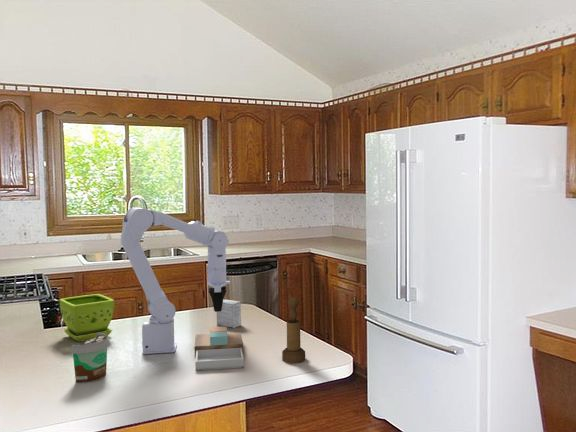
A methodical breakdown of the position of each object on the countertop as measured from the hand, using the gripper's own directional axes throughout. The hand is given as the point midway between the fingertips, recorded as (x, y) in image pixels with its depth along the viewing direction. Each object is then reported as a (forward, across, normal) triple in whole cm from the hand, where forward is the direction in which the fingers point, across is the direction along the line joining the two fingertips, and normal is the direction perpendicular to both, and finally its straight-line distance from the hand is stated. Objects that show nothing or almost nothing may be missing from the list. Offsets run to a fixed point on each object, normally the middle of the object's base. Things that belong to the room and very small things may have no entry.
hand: (217, 310), depth 166 cm
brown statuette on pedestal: (+10, -22, -21) cm, 32 cm away
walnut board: (+10, -10, 0) cm, 14 cm away
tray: (+10, -21, 0) cm, 24 cm away
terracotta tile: (+6, -8, 0) cm, 10 cm away
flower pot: (+10, +13, +43) cm, 46 cm away
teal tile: (+6, -14, 0) cm, 15 cm away
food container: (+10, -26, +32) cm, 42 cm away
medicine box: (+10, +18, -4) cm, 21 cm away
